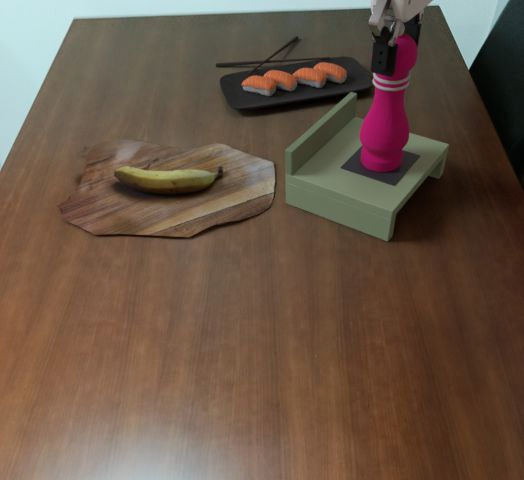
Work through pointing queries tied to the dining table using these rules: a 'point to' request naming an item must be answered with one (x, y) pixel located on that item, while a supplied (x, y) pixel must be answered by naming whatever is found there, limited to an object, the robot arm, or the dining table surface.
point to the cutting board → (167, 189)
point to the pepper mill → (389, 112)
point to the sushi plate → (292, 81)
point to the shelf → (355, 173)
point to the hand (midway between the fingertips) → (393, 62)
